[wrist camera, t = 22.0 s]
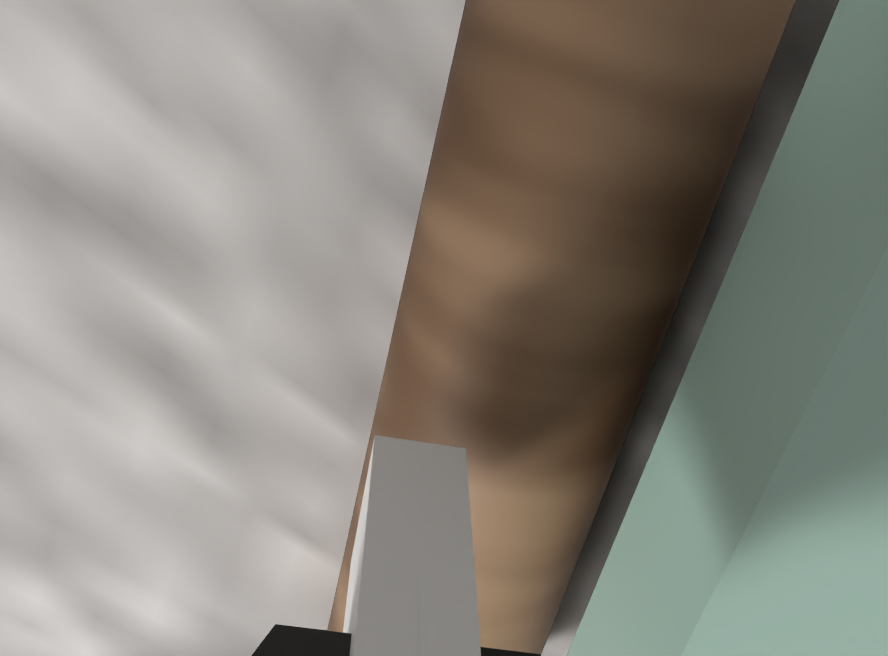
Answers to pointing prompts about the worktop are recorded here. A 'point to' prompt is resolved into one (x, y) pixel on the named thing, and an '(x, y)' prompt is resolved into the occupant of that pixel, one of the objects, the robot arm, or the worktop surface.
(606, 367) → the roller bed
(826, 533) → the slab
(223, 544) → the worktop surface
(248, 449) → the worktop surface
